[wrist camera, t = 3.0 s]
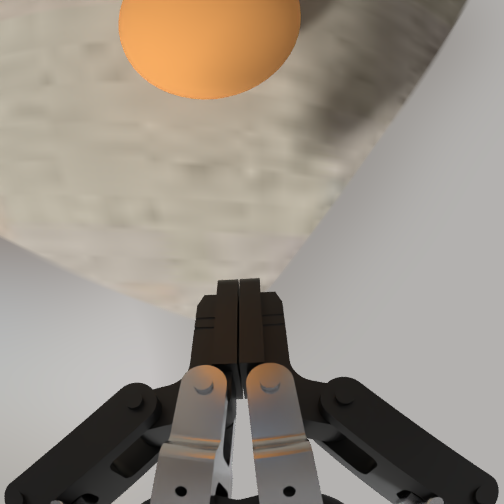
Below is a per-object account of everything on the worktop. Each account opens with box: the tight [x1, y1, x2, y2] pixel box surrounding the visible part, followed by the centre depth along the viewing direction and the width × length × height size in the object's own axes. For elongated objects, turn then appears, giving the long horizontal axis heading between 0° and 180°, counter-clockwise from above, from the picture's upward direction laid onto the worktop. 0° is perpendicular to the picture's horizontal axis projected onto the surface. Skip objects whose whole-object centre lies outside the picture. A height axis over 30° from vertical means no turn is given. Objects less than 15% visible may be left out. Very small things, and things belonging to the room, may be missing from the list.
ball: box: [119, 0, 301, 99], centre depth 8 cm, size 6×6×6 cm
